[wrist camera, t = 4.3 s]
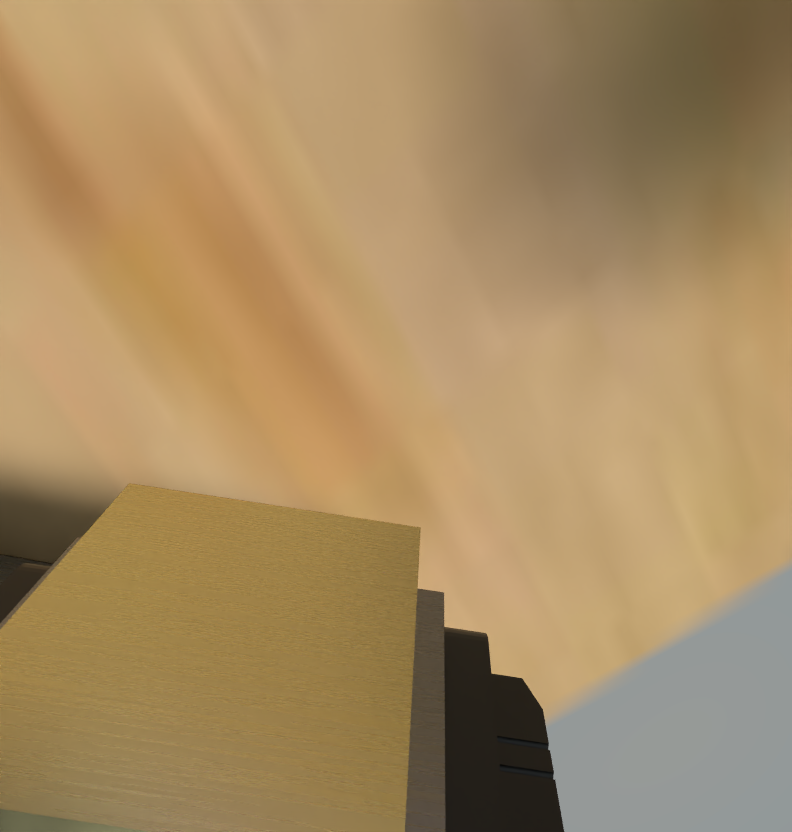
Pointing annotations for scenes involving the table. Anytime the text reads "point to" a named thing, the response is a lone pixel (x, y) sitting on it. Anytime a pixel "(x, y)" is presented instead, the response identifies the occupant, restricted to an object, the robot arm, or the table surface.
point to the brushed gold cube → (225, 676)
